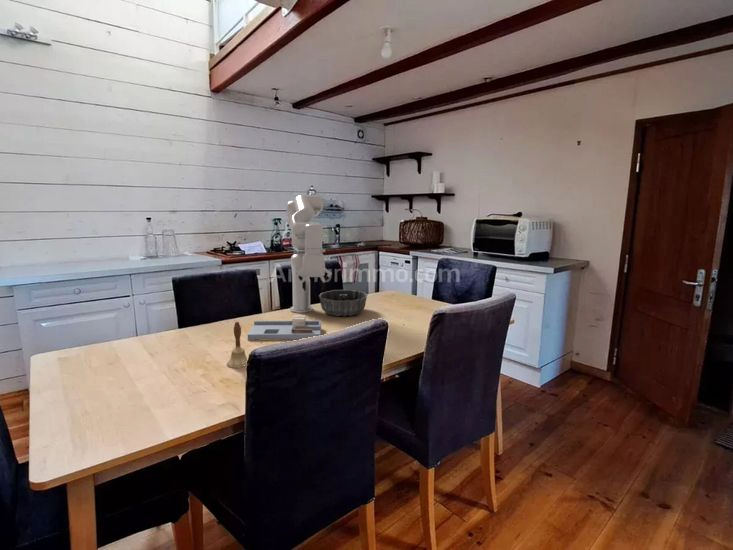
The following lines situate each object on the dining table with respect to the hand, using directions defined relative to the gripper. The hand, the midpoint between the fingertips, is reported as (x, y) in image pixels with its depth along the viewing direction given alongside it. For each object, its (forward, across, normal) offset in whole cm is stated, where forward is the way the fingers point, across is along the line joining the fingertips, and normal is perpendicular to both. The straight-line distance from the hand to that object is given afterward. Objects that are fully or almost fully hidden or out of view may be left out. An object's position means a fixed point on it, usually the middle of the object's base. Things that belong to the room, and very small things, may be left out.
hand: (313, 290), depth 178 cm
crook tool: (+17, +5, +8) cm, 20 cm away
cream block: (+17, +7, 0) cm, 19 cm away
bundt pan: (+20, -14, -33) cm, 41 cm away
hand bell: (+20, +26, +36) cm, 48 cm away
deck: (+20, +12, +3) cm, 24 cm away
